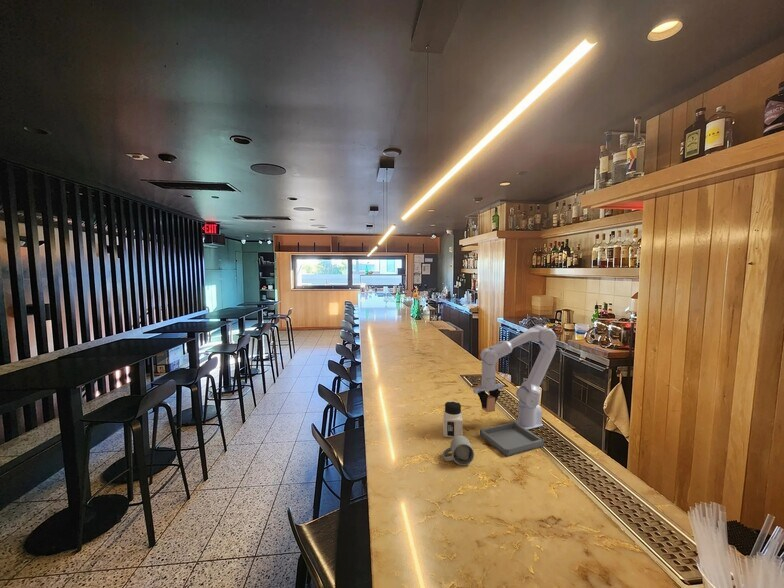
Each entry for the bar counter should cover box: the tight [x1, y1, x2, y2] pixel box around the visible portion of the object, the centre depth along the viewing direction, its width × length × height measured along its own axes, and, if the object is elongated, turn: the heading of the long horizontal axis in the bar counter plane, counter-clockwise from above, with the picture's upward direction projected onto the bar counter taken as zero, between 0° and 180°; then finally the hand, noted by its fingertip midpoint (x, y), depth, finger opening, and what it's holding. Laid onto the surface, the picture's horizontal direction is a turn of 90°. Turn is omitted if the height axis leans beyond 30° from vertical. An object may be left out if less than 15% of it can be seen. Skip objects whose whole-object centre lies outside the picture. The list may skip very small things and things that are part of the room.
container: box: [442, 400, 464, 438], centre depth 131 cm, size 8×8×13 cm
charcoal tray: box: [479, 421, 545, 458], centre depth 124 cm, size 18×16×2 cm
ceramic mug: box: [441, 435, 475, 466], centre depth 113 cm, size 11×8×8 cm
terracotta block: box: [481, 393, 496, 414], centre depth 137 cm, size 4×4×6 cm
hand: (488, 406), depth 137 cm, fingers closed on terracotta block, 4 cm apart
